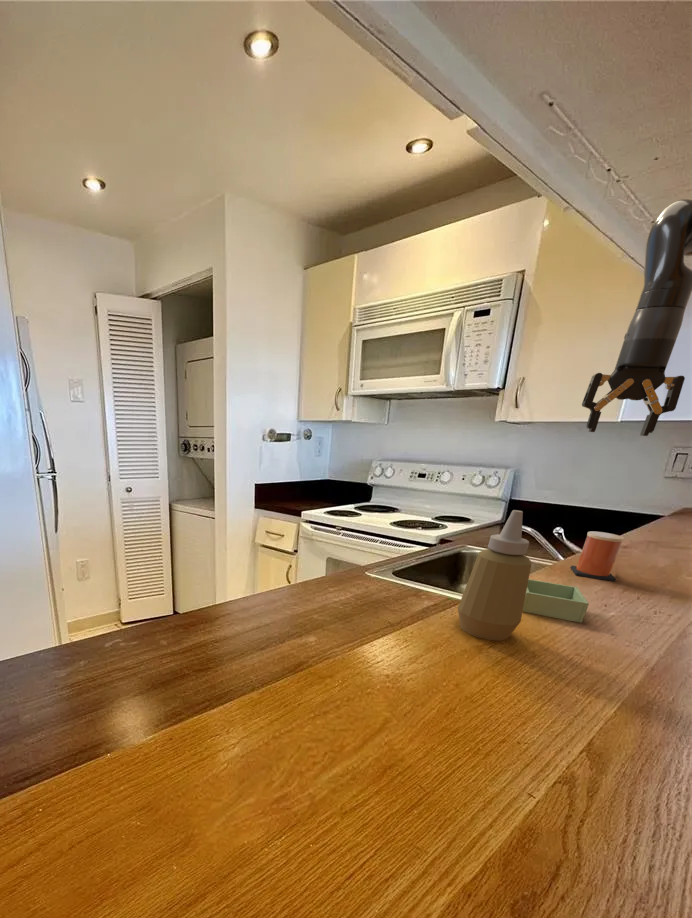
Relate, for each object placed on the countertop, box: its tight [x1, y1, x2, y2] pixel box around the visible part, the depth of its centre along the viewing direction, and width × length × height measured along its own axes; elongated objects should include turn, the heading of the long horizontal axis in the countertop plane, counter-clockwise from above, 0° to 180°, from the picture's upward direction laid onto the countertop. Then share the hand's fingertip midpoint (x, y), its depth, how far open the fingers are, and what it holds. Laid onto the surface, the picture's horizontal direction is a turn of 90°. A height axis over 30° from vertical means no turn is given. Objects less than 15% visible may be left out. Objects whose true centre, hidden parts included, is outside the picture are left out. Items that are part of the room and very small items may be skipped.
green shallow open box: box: [522, 578, 590, 623], centre depth 77 cm, size 8×8×4 cm
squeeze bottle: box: [457, 509, 532, 642], centre depth 64 cm, size 8×8×18 cm
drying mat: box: [570, 565, 617, 582], centre depth 101 cm, size 7×6×1 cm
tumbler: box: [576, 530, 625, 576], centre depth 99 cm, size 6×6×8 cm
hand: (617, 433), depth 92 cm, fingers open, 8 cm apart
